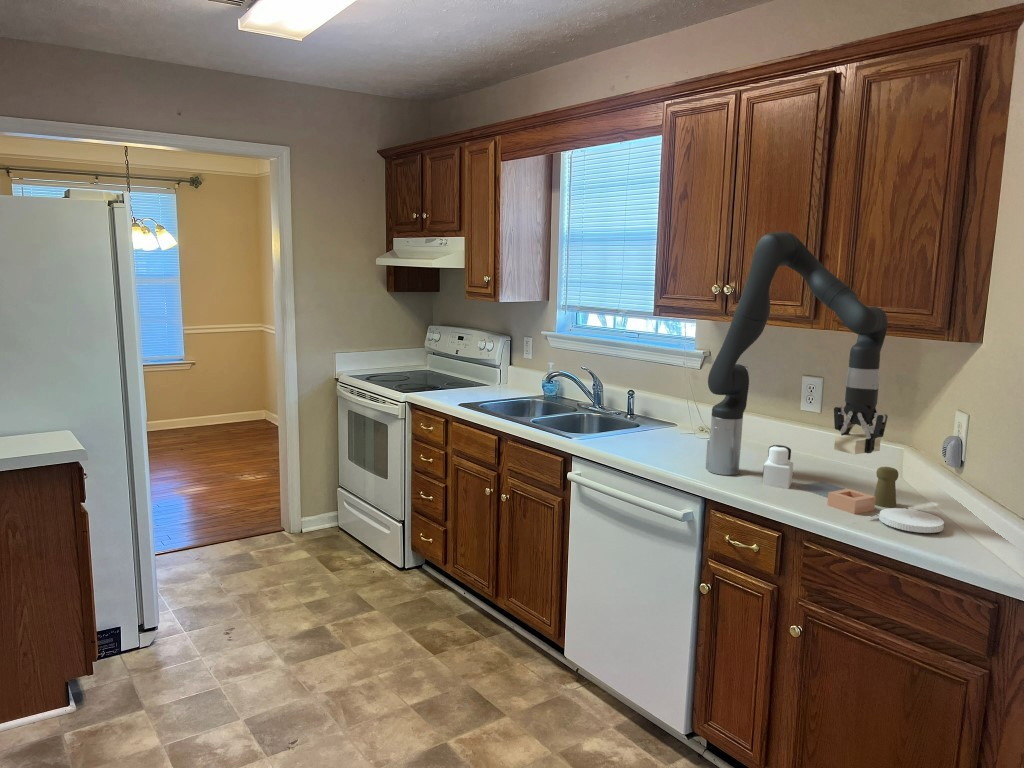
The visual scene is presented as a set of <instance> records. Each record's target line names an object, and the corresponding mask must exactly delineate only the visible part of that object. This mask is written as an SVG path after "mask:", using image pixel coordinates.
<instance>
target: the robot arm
mask: <svg viewBox="0 0 1024 768" xmlns="http://www.w3.org/2000/svg"><path fill="white" fill-rule="evenodd" d="M753 252H754V253H753V255H752V259H751V263H750V267H749V272H748V275H747V278H746V282H745V284H744V287H743V290H742V293H741V296H740V299H739V301H738V304H737V306H736V309H735V311H734V314H733V316H732V319H731V323H730V325H729V328H728V330H727V332H726V336H725V338H724V341H723V343H722V346H721V348H720V350H719V352H718V354H717V356H716V358H715V359H714V361H713V363H712V366H711V368H710V370H709V374H708V377H707V385H708V389H709V391H710V392H711V393H712V394H714V395H718V396H724V398H723V400H721V401H720V402H718V403H717V404H715V405H713V406H712V408H711V417H710V418H711V419H710V433H709V438H708V439H707V440H706V441H707V442H706V454H705V455H706V457H705V458H706V459H705V469H706V470H707V471H708V472H710V473H713V474H716V475H724V476H735V475H738V474H739V472H740V460H741V450H742V449H741V448H742V438H743V437H742V434H743V433H742V432H743V424H744V423H743V421H744V413H745V411H746V408H747V402H748V395H749V387H750V377H749V375H750V374H749V371H748V369H747V367H745V365H742V364H738V363H737V362H738V360H739V359H740V357H741V356H742V355H743V354H744V353H745V351H746V350H748V349H749V348H750V346H752V345H753V344H754V343H755V342H756V341H757V340H758V339H759V338H760V337H761V336H762V333H763V332H764V330H765V327H766V325H767V323H768V319H769V318H770V314H771V298H770V297H771V296H770V289H771V284H772V281H773V279H774V277H775V274H776V272H777V271H778V268H779V267H784V266H787V267H788V268H790V269H792V270H793V271H795V272H796V273H797V274H799V275H800V276H801V277H802V278H803V279H804V281H805V282H806V283H807V286H808V287H809V289H810V292H812V294H813V295H814V296H815V297H816V298H817V299H818V300H819V301H820V302H821V303H822V304H824V306H826V307H827V308H828V309H829V310H831V311H833V313H834V314H835V315H836V316H837V317H838V319H839V320H840V321H841V322H842V324H843V325H844V326H845V327H846V328H847V329H848V330H850V331H851V332H853V334H856V335H857V339H856V342H855V344H854V345H852V346H851V348H850V350H849V359H848V370H847V375H846V382H845V384H846V385H845V395H844V397H845V398H844V402H845V406H844V407H843V406H835V407H833V418H834V419H833V420H834V422H833V424H834V429H835V430H836V431H839V432H840V434H841V435H850V434H851V431H852V429H853V427H855V426H856V425H858V426H860V427H861V429H862V430H863V431H864V434H866V437H867V439H866V441H865V453H864V454H871V453H873V452H872V451H873V450H874V445H875V439H876V438H878V437H881V438H882V437H884V434H885V429H886V427H887V422H888V418H889V417H888V414H884V413H883V414H882V413H879V412H878V410H877V409H876V407H877V405H878V398H879V386H880V364H881V351H882V348H883V345H884V342H885V339H886V335H887V330H888V324H889V323H888V322H889V321H888V316H887V314H886V312H885V311H884V310H883V309H882V308H880V307H878V306H867V305H865V304H864V303H863V302H861V301H860V300H859V299H858V294H857V293H856V292H855V291H854V289H852V288H851V287H849V286H848V285H847V284H846V283H844V282H843V281H842V280H841V279H840V278H838V277H837V276H836V275H834V274H833V273H832V272H831V271H830V270H829V269H827V268H826V267H825V265H823V264H822V262H821V261H819V260H818V259H817V257H815V255H814V254H813V253H812V251H810V250H809V249H808V248H807V247H806V245H805V244H804V242H802V241H801V240H800V239H799V237H798V236H796V235H795V234H794V233H792V232H789V231H776V232H769V233H767V234H764V235H763V236H762V237H760V239H758V241H757V244H756V247H755V249H754V251H753ZM845 416H846V417H845ZM874 421H875V422H874ZM841 435H840V436H841Z"/></svg>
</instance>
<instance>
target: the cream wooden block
mask: <svg viewBox="0 0 1024 768" xmlns="http://www.w3.org/2000/svg"><path fill="white" fill-rule="evenodd" d="M866 439H867V437H866V434H865V433H862V432H859V433H852V434H851V433H850V435H836V436H834V443H833V444H834V445H833V450H834V451H838V452H842V453H847V454H851V455H861V454H866V453H865V441H866ZM881 439H882V437H878V438H876V439H875V445H874V450H873V451H872V453H874V452H879V451H880V449H881Z"/></svg>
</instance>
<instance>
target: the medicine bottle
mask: <svg viewBox="0 0 1024 768" xmlns="http://www.w3.org/2000/svg"><path fill="white" fill-rule="evenodd" d="M767 452H768V453H767V454H768V455H767V460H766V461H765V462H764V464H763V470H762V472H763V473H762V481H761V484H762V485H761V486H767V487H768V486H769V487H774V488H782V489H788V490H789V489H790V487H791V485H792V484H793V482H792V481H793V474H794V473H793V472H794V462H792V461H791V456H792V449H791V448H790V447H788V446H786V445H782V444H781V445H780V444H773V445H771V446H769V447H768V451H767Z"/></svg>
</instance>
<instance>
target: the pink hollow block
mask: <svg viewBox="0 0 1024 768" xmlns="http://www.w3.org/2000/svg"><path fill="white" fill-rule="evenodd" d="M875 498H876V497H875V496H874V495H871V494H868V493H864V492H861V491H857V490H854V489H851V488H844V489H843V490H838V491H832V492H828V498H827V504H826V506H828V507H831V508H833V509H837V510H840V511H843V512H846V513H848V514H849V513H850V514H852V515H858V514H863V513H867V512H872V511H875V508H876V507H875V506H876V505H875Z"/></svg>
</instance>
